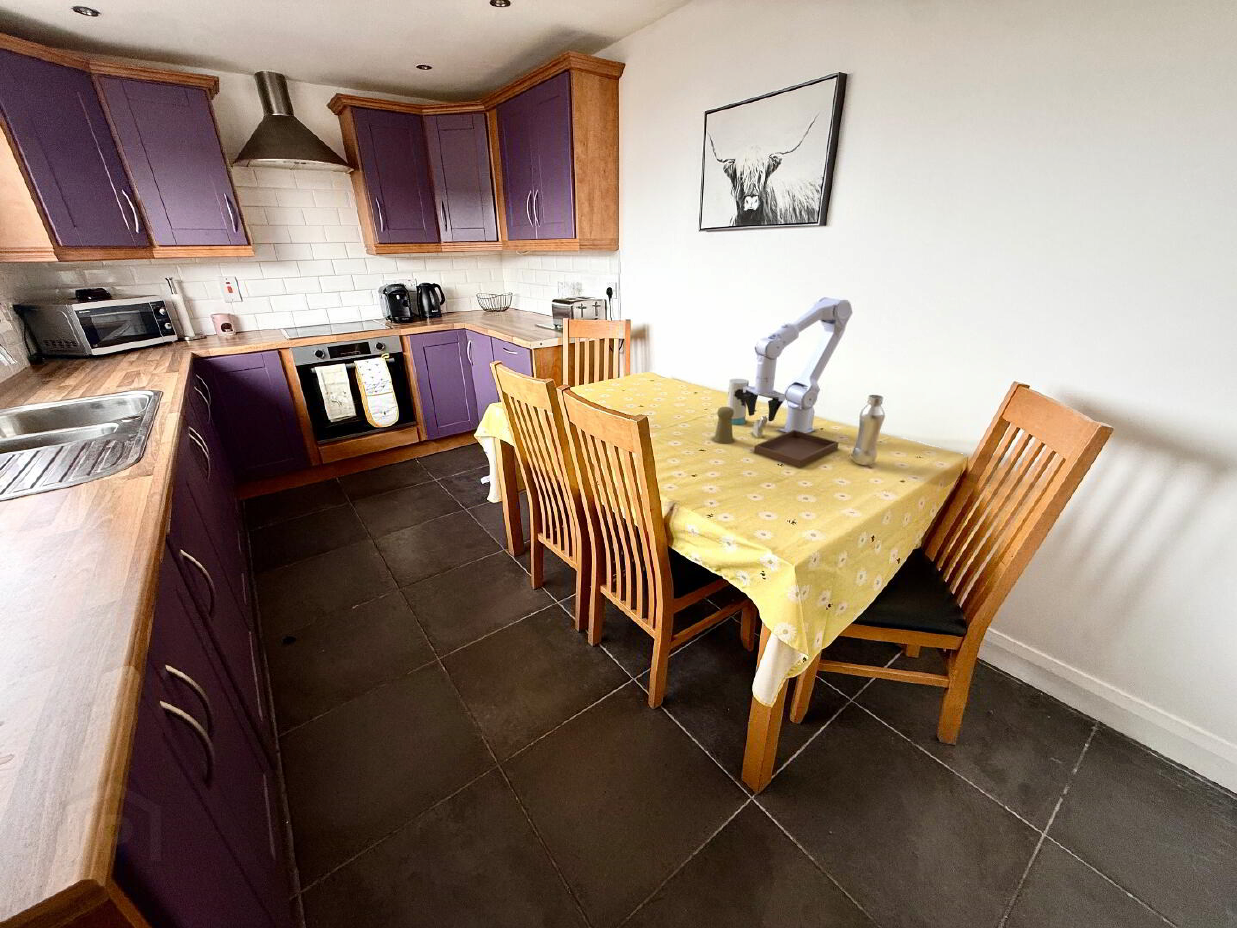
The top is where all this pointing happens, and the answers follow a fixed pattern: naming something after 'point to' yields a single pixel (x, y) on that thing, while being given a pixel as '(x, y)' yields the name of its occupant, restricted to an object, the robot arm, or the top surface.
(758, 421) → the lighter
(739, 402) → the cup
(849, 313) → the robot arm
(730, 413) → the pawn
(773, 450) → the tray
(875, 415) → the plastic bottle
